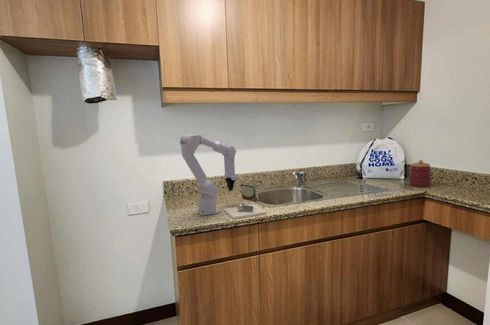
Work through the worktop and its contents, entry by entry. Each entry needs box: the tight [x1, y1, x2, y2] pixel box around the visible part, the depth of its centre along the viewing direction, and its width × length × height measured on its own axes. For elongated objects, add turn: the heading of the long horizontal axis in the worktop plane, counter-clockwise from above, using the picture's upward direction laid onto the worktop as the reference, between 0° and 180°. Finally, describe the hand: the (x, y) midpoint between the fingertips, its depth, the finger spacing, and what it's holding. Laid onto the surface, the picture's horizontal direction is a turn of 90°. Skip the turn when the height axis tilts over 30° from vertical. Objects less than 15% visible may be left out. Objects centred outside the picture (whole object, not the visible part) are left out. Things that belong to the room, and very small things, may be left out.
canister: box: [408, 159, 433, 188], centre depth 188 cm, size 13×13×18 cm
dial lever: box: [236, 202, 253, 212], centre depth 143 cm, size 9×4×3 cm, turn 62°
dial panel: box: [223, 203, 267, 221], centre depth 145 cm, size 18×16×1 cm
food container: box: [239, 182, 258, 202], centre depth 171 cm, size 12×6×10 cm, turn 44°
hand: (230, 190), depth 157 cm, fingers closed
